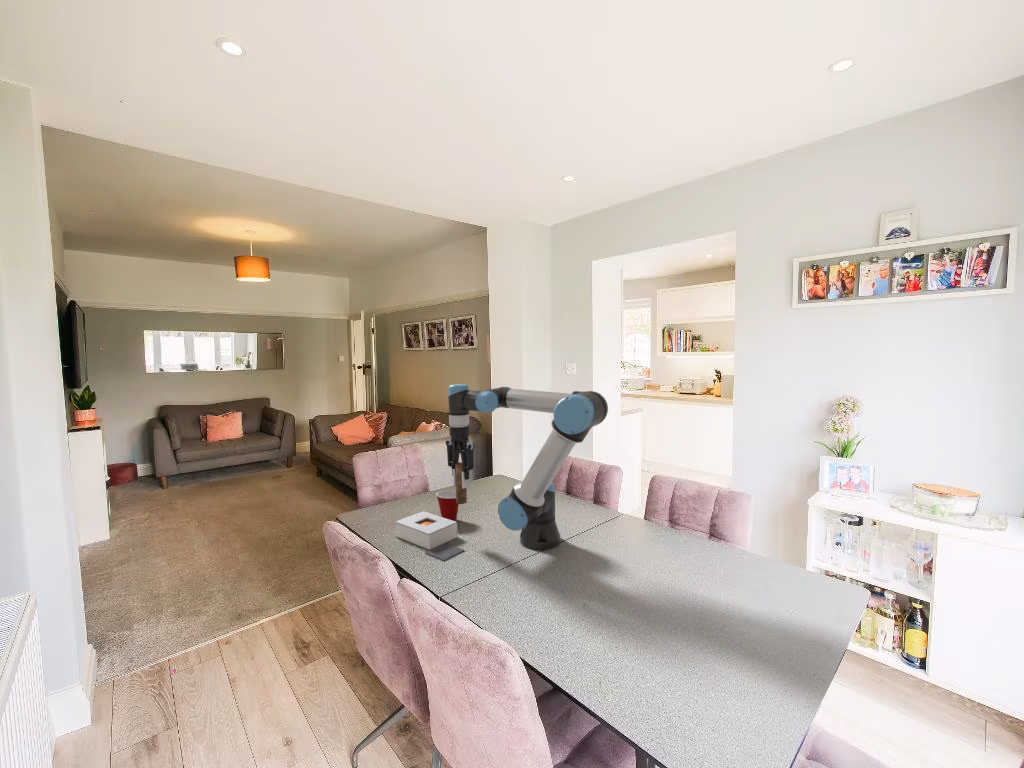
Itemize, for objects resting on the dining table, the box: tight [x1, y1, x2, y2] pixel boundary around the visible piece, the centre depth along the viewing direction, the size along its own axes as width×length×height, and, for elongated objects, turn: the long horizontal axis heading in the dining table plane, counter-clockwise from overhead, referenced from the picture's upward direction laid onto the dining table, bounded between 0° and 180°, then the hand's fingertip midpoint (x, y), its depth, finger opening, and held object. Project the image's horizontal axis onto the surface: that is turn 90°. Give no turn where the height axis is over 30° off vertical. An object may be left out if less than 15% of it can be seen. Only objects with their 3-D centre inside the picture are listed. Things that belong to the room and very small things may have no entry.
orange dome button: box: [420, 522, 432, 526], centre depth 182 cm, size 5×5×2 cm
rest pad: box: [424, 542, 466, 562], centre depth 169 cm, size 10×10×1 cm
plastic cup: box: [435, 490, 460, 522], centre depth 198 cm, size 11×11×12 cm
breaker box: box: [394, 510, 458, 551], centre depth 182 cm, size 20×14×6 cm
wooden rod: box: [455, 461, 468, 505], centre depth 178 cm, size 4×4×15 cm
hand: (461, 486), depth 178 cm, fingers closed on wooden rod, 4 cm apart
